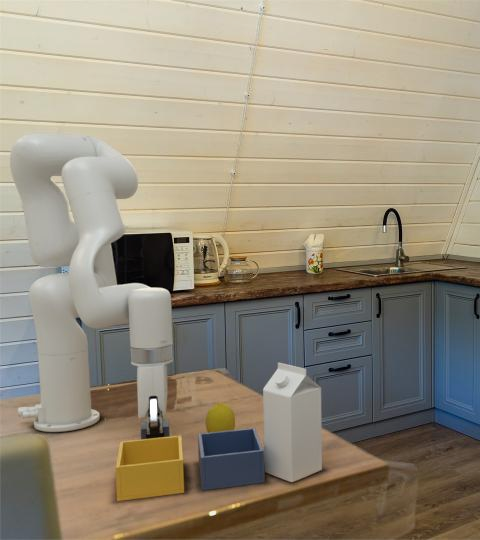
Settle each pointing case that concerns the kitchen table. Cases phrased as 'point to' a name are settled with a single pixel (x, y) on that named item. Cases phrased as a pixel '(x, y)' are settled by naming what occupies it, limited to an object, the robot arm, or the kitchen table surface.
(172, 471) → the yellow bin
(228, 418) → the lemon
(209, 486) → the blue bin
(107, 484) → the kitchen table surface
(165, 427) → the blue block
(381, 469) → the kitchen table surface
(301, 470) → the milk carton
